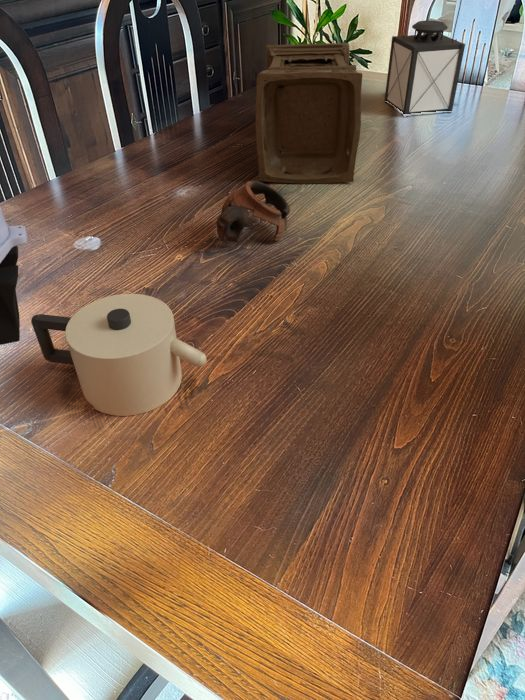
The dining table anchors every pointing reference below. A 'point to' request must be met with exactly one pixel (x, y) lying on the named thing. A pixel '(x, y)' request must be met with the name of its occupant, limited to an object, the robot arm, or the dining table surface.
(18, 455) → the dining table surface
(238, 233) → the brown hollow curved piece
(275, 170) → the ornamental box
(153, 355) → the kettle
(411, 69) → the lantern
